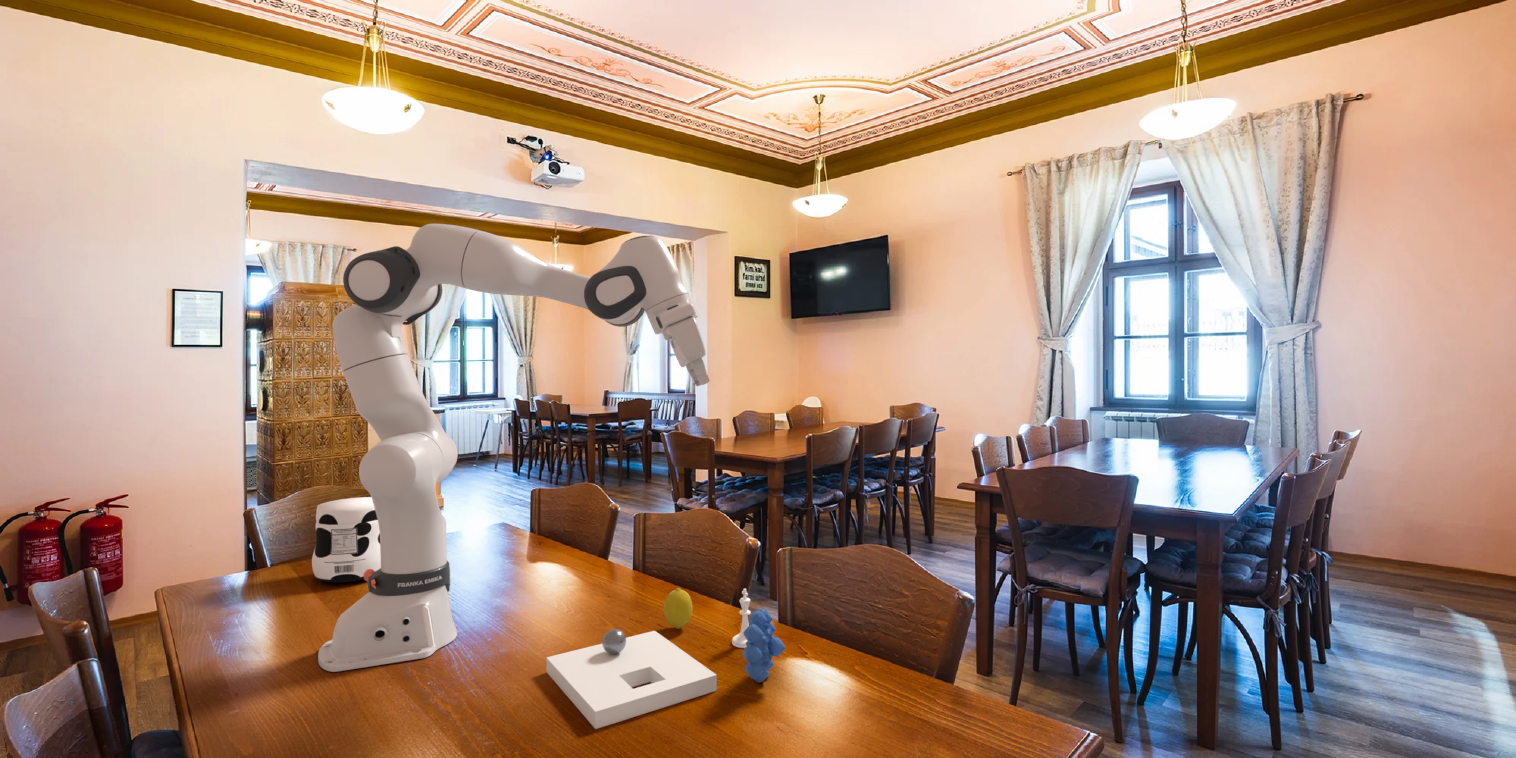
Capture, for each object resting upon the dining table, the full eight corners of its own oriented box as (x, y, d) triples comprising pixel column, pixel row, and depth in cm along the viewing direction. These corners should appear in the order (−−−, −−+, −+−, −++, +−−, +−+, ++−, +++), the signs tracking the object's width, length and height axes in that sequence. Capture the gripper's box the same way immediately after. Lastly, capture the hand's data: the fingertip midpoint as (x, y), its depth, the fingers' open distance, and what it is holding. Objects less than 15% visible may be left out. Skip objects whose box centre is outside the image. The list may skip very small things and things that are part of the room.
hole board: (595, 729, 98) (595, 711, 98) (546, 672, 116) (546, 657, 116) (716, 690, 109) (716, 674, 109) (654, 644, 127) (654, 630, 127)
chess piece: (739, 650, 125) (738, 595, 124) (727, 640, 129) (727, 587, 129) (763, 644, 127) (763, 590, 127) (751, 635, 131) (750, 583, 131)
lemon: (687, 635, 131) (687, 593, 131) (660, 633, 132) (659, 591, 132) (696, 624, 137) (695, 584, 137) (669, 622, 138) (669, 582, 138)
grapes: (776, 701, 106) (776, 623, 105) (734, 695, 107) (734, 619, 107) (793, 669, 117) (793, 598, 116) (755, 664, 119) (755, 595, 118)
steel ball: (607, 660, 115) (607, 636, 115) (598, 651, 118) (598, 628, 118) (630, 654, 117) (630, 630, 117) (620, 646, 120) (620, 623, 120)
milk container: (374, 562, 181) (372, 493, 180) (408, 573, 171) (406, 501, 170) (299, 579, 167) (298, 504, 166) (332, 593, 157) (330, 513, 156)
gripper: (656, 329, 140) (683, 392, 140) (659, 317, 120) (692, 390, 120) (685, 317, 141) (712, 379, 141) (693, 303, 121) (724, 375, 121)
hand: (703, 384), depth 131 cm, fingers open, 8 cm apart
